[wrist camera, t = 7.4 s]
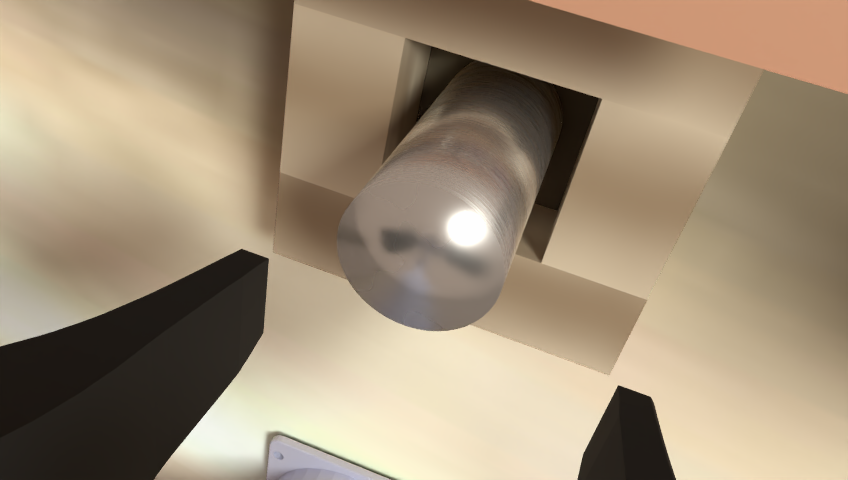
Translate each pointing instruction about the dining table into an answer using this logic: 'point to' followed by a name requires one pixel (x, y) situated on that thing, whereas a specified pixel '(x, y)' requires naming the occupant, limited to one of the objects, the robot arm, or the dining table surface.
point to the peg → (452, 201)
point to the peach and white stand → (741, 31)
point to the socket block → (546, 228)
